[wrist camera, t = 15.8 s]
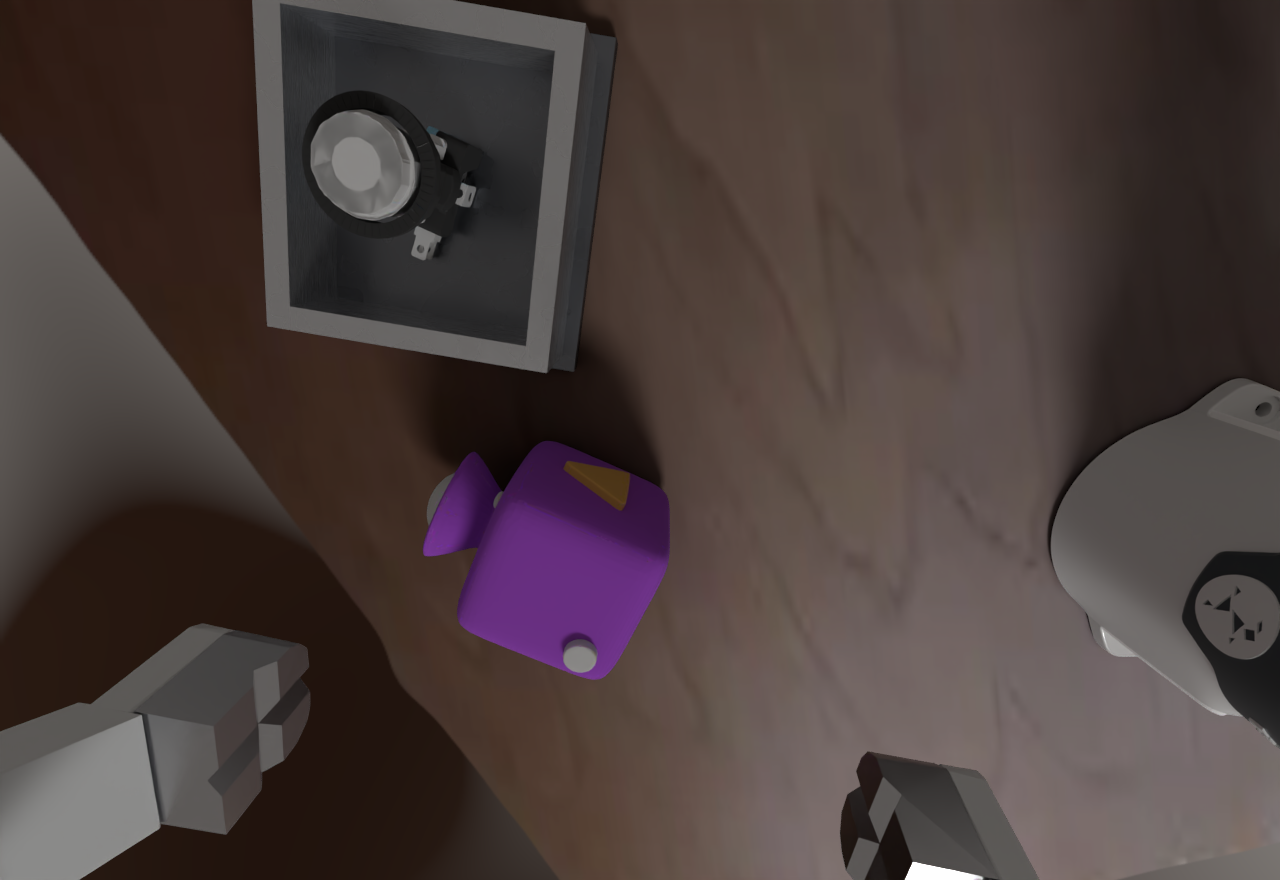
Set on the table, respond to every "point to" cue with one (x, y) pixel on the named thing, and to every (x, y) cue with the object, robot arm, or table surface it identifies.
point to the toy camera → (554, 554)
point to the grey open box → (505, 182)
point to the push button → (386, 170)
